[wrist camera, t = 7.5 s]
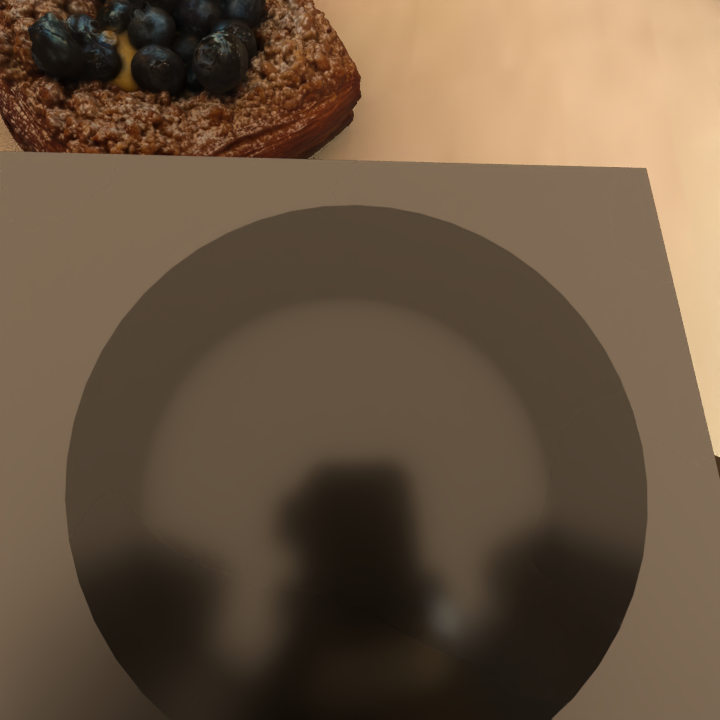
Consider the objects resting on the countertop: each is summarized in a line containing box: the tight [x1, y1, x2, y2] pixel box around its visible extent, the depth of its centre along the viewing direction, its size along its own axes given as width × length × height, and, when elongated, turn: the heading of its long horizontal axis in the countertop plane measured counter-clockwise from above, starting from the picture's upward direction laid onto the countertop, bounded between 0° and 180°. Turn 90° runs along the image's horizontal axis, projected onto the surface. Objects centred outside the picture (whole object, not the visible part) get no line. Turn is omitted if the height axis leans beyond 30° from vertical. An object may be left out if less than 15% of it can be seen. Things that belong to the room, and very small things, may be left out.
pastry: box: [0, 0, 361, 159], centre depth 22 cm, size 11×12×6 cm
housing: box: [0, 151, 720, 720], centre depth 9 cm, size 5×5×14 cm
